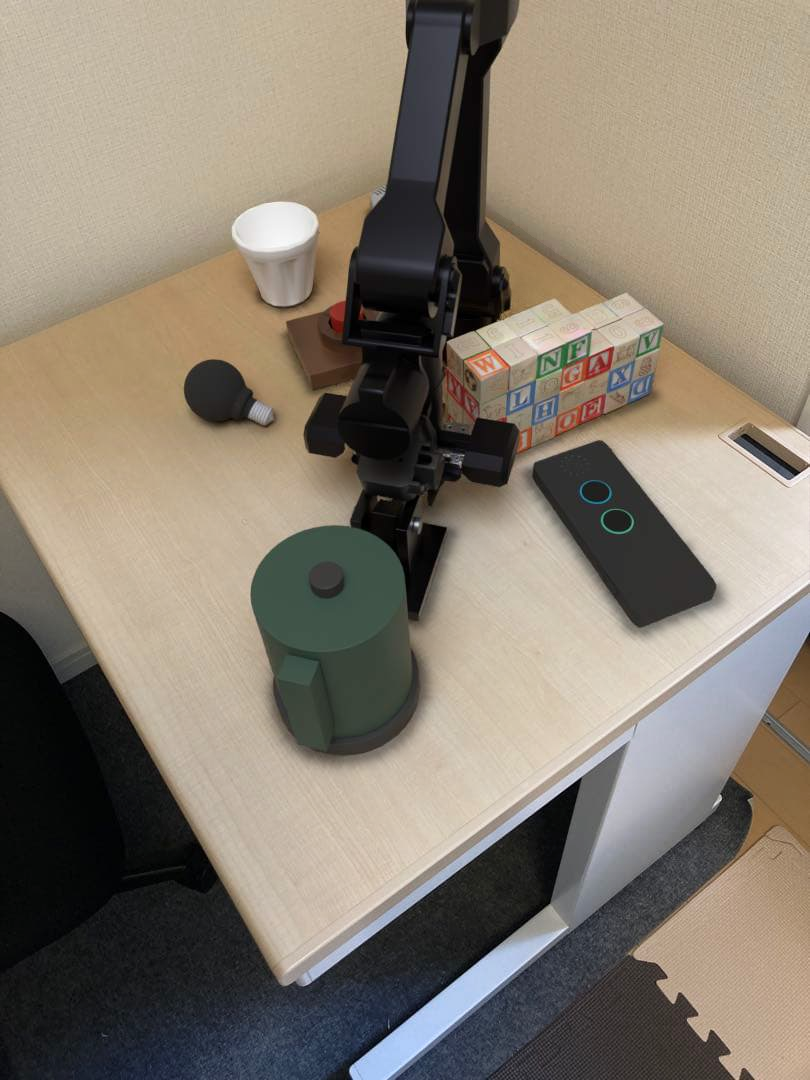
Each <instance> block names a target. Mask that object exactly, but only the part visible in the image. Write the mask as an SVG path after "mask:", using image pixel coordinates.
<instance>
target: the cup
mask: <svg viewBox="0 0 810 1080" xmlns="http://www.w3.org/2000/svg"><path fill="white" fill-rule="evenodd" d="M230 229H231V237H232V240H233V241H232V242H233V245H234V246H235V247H236V249H237V250H238V251H239V253H240V254H241V255H242V256H243V259H244V261H245V263H246V265H247V267H248V269H249V272H250V273H251V276H252V278H253V280H254V282H255V284H256V287H257V288H258V291H259V293H260V297H261V298H262V299H263V301H265V303H266V304H267V305H269V306H272V307H274V308H281V309H285V308H293V307H296V306H298V305H301V304H303V303H304V302H305V301H307V300H308V299H309V297H310V296H311V293H312V291H313V286H314V277H315V268H316V260H317V259H316V258H317V250H318V243H319V235H320V223H319V220H318V216H317V214H316V213H315V212H313V210H312V209H310V207H308V206H305V205H303V204H300V203H297V202H293V201H272V202H266V203H261V204H258V205H256V206H253V207H251V208H248V209H247V210H245V211H244V212H243V213H241V214H240V215H238V216H237V218H236V219H235V221H234V222H233V224H232V226H231V228H230Z"/></svg>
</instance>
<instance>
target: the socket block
mask: <svg viewBox="0 0 810 1080" xmlns="http://www.w3.org/2000/svg"><path fill="white" fill-rule="evenodd" d="M332 306H333V305H331V306H329V307H328V308H326V309H325V310H324V311H323V310H322V311H320V312H316V313H312V314H309V315H305V316H301V317H300V316H299V317H297V318H292V319H289V320H286V321H285V324H286V331H287V335H288V339H289V341H290V343H291V345H292V347H293V349H294V352H295V354H296V356H297V358H298V360H299V363H300V365H301V367H302V370H303V372H304V374H305V376H306V379H307V381H308V383H309V385H310V388H311V390H312V391H315V390H316V391H317V390H320V389H322V388H326V387H331V386H334V385H337V384H341V383H344V382H349V381H352V380H354V379H355V377H356V375H357V372H358V370H359V368H360V365H361V363H362V350H361V348H356V347H348V346H342V335H343V333H342V332H337V331H335V330H334V329H333V327H332V324H331V317H330V309H331V308H332ZM362 308H363V317H364V320H372V321H375V320H376V318H377V316H378V315H379V313H380V312H379V311H371V310H366V309H364V307H363V305H362Z"/></svg>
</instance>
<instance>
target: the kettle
mask: <svg viewBox="0 0 810 1080" xmlns="http://www.w3.org/2000/svg"><path fill="white" fill-rule="evenodd" d="M249 595H250V604H251V608H252V612H253V615H254V618H255V621H256V624H257V628H258V630H259V634H260V637H261V640H262V643H263V647H264V649H265V653H266V655H267V656H266V657H267V659H268V662H269V666H270V668H271V671H272V675H273V676H272V677H273V678H272V692H273V697H274V701H275V704H276V707H277V710H278V714H279V716H280V718H281V720H282V723H283V724H284V726H285V727H286V729H287V730H288V731H289V733H290V734H291V735H292V736H293V737H294V738H295V741H296V744H297V745H300V746H303V747H307V748H310V749H312V750H314V751H316V752H320V753H324V754H328V755H332V756H354V755H359V754H364V753H368V752H371V751H374V750H376V749H378V748H380V747H382V746H384V745H386V744H388V743H389V742H391V741H392V740H393V739H394V738H396V737H397V736H399V734H400V733H401V732H402V731H403V730H404V729H405V727H406V726H407V725H408V724H409V722H410V721H411V719H412V717H413V716H414V714H415V711H416V709H417V707H418V702H419V698H420V689H421V688H420V687H421V686H420V673H419V665H418V661H417V657H416V655H415V653H414V650H413V649H412V647H411V639H410V636H411V635H410V624H409V619H408V611H407V598H406V586H405V576H404V571H403V567H402V565H401V562H400V560H399V559H398V557H397V555H396V554H395V552H394V551H393V550H392V549H391V548H390V547H389V546H388V545H387V544H386V543H385V542H384V541H383V540H381V539H380V538H378V537H377V536H375V535H373V534H371V533H369V532H367V531H364V530H361V529H358V528H354V527H351V526H348V525H336V524H334V525H333V524H332V525H331V524H330V525H321V526H320V525H319V526H314V527H310V528H307V529H304V530H301V531H299V532H296V533H294V534H292V535H289V536H288V537H286V538H285V539H283V540H281V541H279V542H278V543H277V544H276V545H275V546H273V548H271V549H270V550H269V551H268V552H267V554H265V556H264V557H263V559H261V560H260V562H259V564H258V566H257V568H256V570H255V572H254V575H253V577H252V581H251V585H250V594H249Z"/></svg>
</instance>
